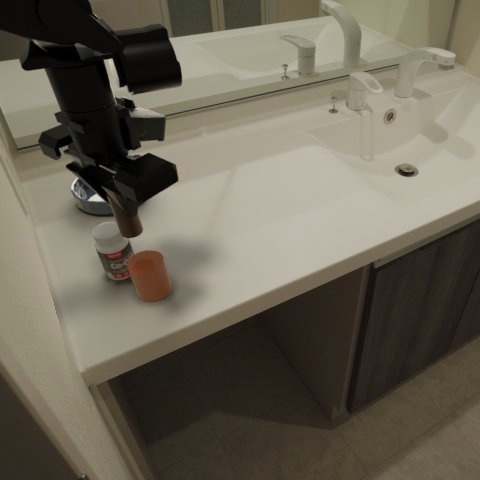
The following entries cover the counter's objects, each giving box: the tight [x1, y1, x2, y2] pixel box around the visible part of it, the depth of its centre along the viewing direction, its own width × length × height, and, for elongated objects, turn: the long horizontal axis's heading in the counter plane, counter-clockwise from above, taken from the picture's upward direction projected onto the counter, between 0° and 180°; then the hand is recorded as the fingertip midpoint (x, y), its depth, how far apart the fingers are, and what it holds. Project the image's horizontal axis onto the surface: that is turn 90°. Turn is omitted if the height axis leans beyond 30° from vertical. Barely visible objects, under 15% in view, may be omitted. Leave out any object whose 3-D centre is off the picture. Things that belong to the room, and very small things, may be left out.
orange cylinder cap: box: [127, 249, 173, 303], centre depth 62 cm, size 5×5×6 cm
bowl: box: [70, 176, 141, 216], centre depth 79 cm, size 13×13×3 cm
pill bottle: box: [91, 221, 135, 281], centre depth 63 cm, size 5×5×8 cm
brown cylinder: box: [106, 192, 144, 239], centre depth 57 cm, size 3×3×7 cm
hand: (125, 212), depth 57 cm, fingers closed on brown cylinder, 3 cm apart
